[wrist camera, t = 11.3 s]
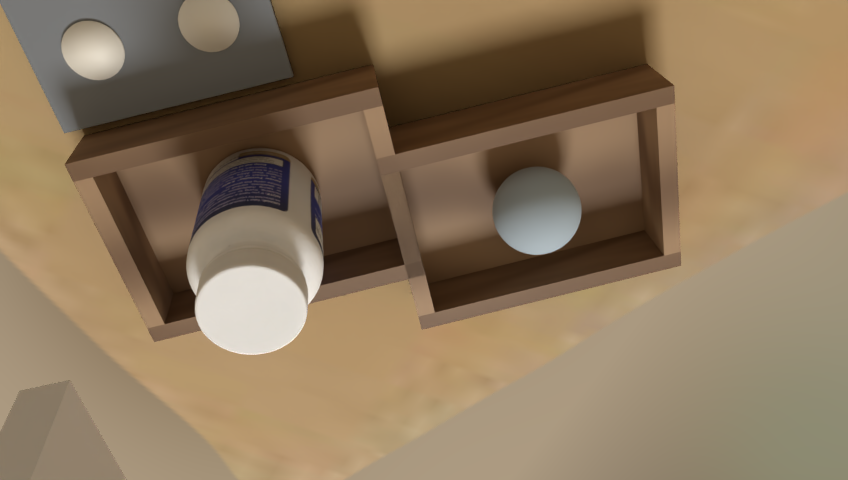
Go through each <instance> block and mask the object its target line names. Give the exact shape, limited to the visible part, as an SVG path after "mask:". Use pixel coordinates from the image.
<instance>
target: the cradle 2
mask: <svg viewBox="0 0 848 480" xmlns="http://www.w3.org/2000/svg"><path fill="white" fill-rule="evenodd" d="M389 130H390V135H391V139H392V143H393V148H394V152H395V155H394V157H393V155H391V156H387V157H383V158H379V159H377V163H378V167H379V170H380V174H381V178H382V180H383V181H382V182H383V183H387V184H388V181H389V183H391V184H388V185H387V184H383V185H384V189H385V193H386V197H387V198H388V197H390V199H387V200H388V203H389V205H392V206H389V208H390V207H392V208H395V209H393V210H392V208H391V210H390V212H391V215H393V217H392V219H393V223H394V227H396V224H397V223H399V224H400V225H398V224H397V227H396V228H395V230H396V231H399V230H400V228H401V230H402V231H399V232H397V233H396V234H397V235H398V234H401V235H398V236H397V238H398V237H399V239H398V240H399V241H398V242H400V243H401V242H403V241H404V240H405V242H403V243H401V244H400V243H399V245H400V249H402V247H403V250H401V253H403V255H402V257H403V260H404V259H405V260H406V259H407V261H404V264H408V263H409V261H411V263H409V264H412V263H413V264H414V263H416V262H418V263H419V260H420V263H421V262H422V264H421V266H422V265H423V268H421V269H424V273H425V274H424V273H423V274H424V275H423V274H421V275H423V276H421V275H418V276H419V277H417V275H416V274H415V275H414V278H413V276H411V275H410V273H411V272H410V273H409V271H408V270H407V269H406V270H407V271H408V272H407V274H409V275H410V276H411V277H410V278H411V279H409V277H408V279H409V283H410V287H411V290H412V294H413V298H414V302H415V305H416V309H417V313H418V317H419V320H420V324H421V328H422V330H423V329H427V328H431V327H435V326H439V325H443V324H447V323H451V322H455V321H459V320H463V319H467V318H471V317H475V316H479V315H483V314H487V313H491V312H495V311H499V310H503V309H507V308H511V307H515V306H519V305H523V304H528V303H532V302H536V301H540V300H544V299H548V298H552V297H556V296H560V295H564V294H568V293H572V292H576V291H580V290H584V289H588V288H592V287H596V286H600V285H604V284H608V283H612V282H616V281H620V280H624V279H628V278H632V277H637V276H641V275H645V274H649V273H653V272H657V271H661V270H665V269H669V268H673V267H677V266H681V249H680V223H679V198H678V172H677V146H676V120H675V94H674V85H673V84H672V83H670V82H669V81H668V80H667V79H665V78H664V77H663V76H662V75H660V74H659V73H658V72H657V71H655V70H654V69H653V68H651V67H650V66H649V65H648V64H645V65H641V66H637V67H633V68H629V69H625V70H621V71H617V72H613V73H609V74H605V75H601V76H597V77H592V78H588V79H584V80H580V81H576V82H572V83H568V84H564V85H560V86H556V87H552V88H548V89H544V90H540V91H536V92H532V93H528V94H524V95H520V96H516V97H511V98H507V99H503V100H499V101H495V102H491V103H487V104H483V105H479V106H475V107H471V108H467V109H463V110H459V111H455V112H451V113H447V114H443V115H439V116H435V117H430V118H426V119H422V120H418V121H414V122H410V123H406V124H402V125H398V126H394V127H390V128H389ZM385 160H386V161H385ZM381 161H382V162H381ZM383 161H384V162H383ZM390 161H391V162H390ZM391 163H392V164H393V165H392V164H391ZM383 164H384V165H383ZM396 164H397V165H396ZM528 167H546V168H550V169H553V170H556V171H558V172H560V173H561V174H562V175H564V176H565V177H567V178H568V179H569V180H570V181H571V183H572V184H573V185H574V187H575V188H576V190H577V192H578V195H579V197H580V201H581V210H582V211H581V220H580V224H579V226H578V229H577V231H576V233H575V234H574V236H573V237H572V238H571V239H570V241H569V242H568V243H566V244H565V245H564V246H563V247H561V248H560V249H558V250H556V251H554V252H551V253H547V254H542V255H532V254H526V253H523V252H520V251H518V250H516V249H514V248H512V247H511V246H509V245H508V244H507V243H506V242H505V241H504V240H503V239H502V238H501V236H500V235H499V233H498V231H497V229H496V227H495V224H494V220H493V214H492V209H493V201H494V198H495V195H496V192H497V190H498V189H499V187H500V186H501V184H502V183H503V182H504V181H505V180H506V179H507V178H508V177H509V176H510V175H512V174H513V173H515V172H517V171H519V170H521V169H524V168H528ZM386 168H387V169H386ZM393 168H394V169H393ZM388 169H389V170H388ZM391 169H392V170H391ZM387 172H388V173H387ZM395 172H396V173H395ZM397 172H398V173H397ZM385 173H386V174H385ZM389 174H391V176H390V175H389ZM384 175H386V176H387V180H386V176H384ZM393 175H397V176H393ZM382 176H384V177H382ZM389 176H390V177H389ZM399 177H400V178H399ZM389 178H390V179H389ZM397 178H398V180H397ZM384 179H385V180H386V181H385V180H384ZM390 180H391V181H390ZM393 180H394V182H393ZM395 180H396V181H395ZM397 182H402V183H400V184H398V183H397ZM395 183H396V184H395ZM389 185H390V187H389ZM392 185H393V186H392ZM394 185H395V186H396V185H398V187H397V186H396V188H394V189H393V187H394ZM402 185H403V186H402ZM385 186H386V188H385ZM387 186H388V187H387ZM391 186H392V187H391ZM400 186H401V187H400ZM388 188H389V189H388ZM390 189H391V191H388V192H386V191H387V190H390ZM392 189H393V190H392ZM401 189H404V190H401ZM397 190H399V191H400V190H401V191H400V192H399V191H398V192H395V191H397ZM391 193H393V194H395V193H396V194H395V195H392V194H391ZM400 193H401V194H400ZM402 193H404V195H402ZM387 194H391V195H387ZM399 194H400V195H401V196H402V197H404V198H401V196H400V195H399ZM393 196H394V197H393ZM398 196H399V198H398ZM392 197H393V198H392ZM396 197H397V198H398V199H397V198H396ZM395 198H396V199H397V200H398V201H397V200H394V199H395ZM392 199H393V200H392ZM404 199H405V200H407V201H404ZM391 201H393V202H394V203H393V202H392V203H390V202H391ZM400 201H401V202H402V201H403V202H402V203H400ZM398 203H400V206H401V207H400V206H399V205H398ZM394 204H397V206H396V205H395V206H396V207H393V206H394ZM403 204H408V206H406V205H403ZM404 206H405V207H406V208H407V207H408V208H407V209H406V208H405V207H404ZM397 207H399V208H397ZM402 207H403V208H405V209H402ZM396 208H397V209H396ZM400 209H401V210H402V211H401V210H400ZM397 210H400V211H399V212H398V211H397ZM403 210H404V211H403ZM408 210H409V212H408V213H407V214H404V213H405V212H406V211H408ZM393 212H395V213H396V214H394V213H393ZM403 212H404V213H403ZM392 213H393V214H392ZM402 213H403V214H402ZM397 215H398V216H397ZM399 215H400V216H401V217H400V216H399ZM402 215H404V216H402ZM408 215H410V216H408ZM395 216H397V217H400V218H397V217H395ZM404 217H405V218H404ZM408 217H409V218H410V220H407V219H409V218H408ZM394 218H397V219H398V220H396V219H395V220H394ZM401 218H403V219H401ZM406 218H407V219H406ZM399 219H401V220H399ZM402 220H405V221H404V222H402ZM407 221H408V222H407ZM410 222H411V223H412V224H411V225H410ZM406 223H409V224H407V225H406ZM401 225H402V226H407V227H403V229H404V231H403V229H402V227H401ZM399 226H400V227H399ZM410 226H411V227H410ZM412 226H413V227H412ZM398 227H399V228H398ZM407 228H408V230H407ZM409 228H410V229H411V230H412V229H413V228H414V230H413V231H410V229H409ZM405 230H407V231H408V232H407V233H406V234H403V233H405V232H406V231H405ZM401 232H402V233H401ZM409 233H410V234H412V233H415V235H414V234H413V235H410V234H409ZM402 234H403V236H402ZM409 236H410V237H411V238H412V240H411V239H410V238H408V239H407V237H409ZM413 237H416V238H413ZM400 238H401V239H400ZM402 240H403V241H402ZM406 240H407V241H406ZM409 240H410V242H412V241H414V240H415V241H416V242H415V241H414V242H413V243H411V244H410V242H409ZM407 242H409V243H407ZM408 244H409V246H408ZM415 244H417V246H419V247H417V246H416V245H415ZM401 245H405V247H404V246H401ZM406 245H407V246H406ZM413 245H415V246H413ZM414 247H415V249H414ZM408 248H410V249H412V248H413V250H414V252H413V250H411V252H412V253H411V252H410V249H408ZM417 248H419V249H417ZM405 250H406V251H407V252H408V251H409V253H407V252H406V253H405V255H404V251H405ZM419 250H420V252H419V253H418V254H413V253H415V251H416V252H418V251H419ZM410 253H411V254H410ZM420 254H421V257H420V256H418V257H417V255H420ZM404 256H407V257H404ZM408 256H409V260H408ZM410 256H411V257H410ZM412 256H413V257H412ZM413 258H414V259H415V262H414V259H413ZM418 258H419V259H418ZM420 258H422V260H421V259H420ZM411 259H412V260H411ZM416 259H418V260H416ZM412 261H413V262H412ZM406 262H407V263H406ZM413 264H412V266H413ZM416 265H417V263H416ZM416 265H415V266H413V268H414V267H416ZM409 266H410V267H411V265H409ZM421 266H419V264H418V268H420V267H421ZM407 268H408V265H407ZM418 268H417V267H416V268H414V269H418ZM414 269H413V271H414V272H416V270H414ZM421 269H420V270H421ZM409 270H410V269H409ZM420 270H419V271H420ZM422 272H423V270H422ZM422 272H421V271H420V272H419V273H422ZM411 274H412V275H413V272H412V273H411ZM417 274H418V272H417ZM415 276H416V277H415Z"/></svg>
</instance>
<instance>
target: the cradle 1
mask: <svg viewBox="0 0 848 480" xmlns="http://www.w3.org/2000/svg"><path fill="white" fill-rule="evenodd" d="M252 148H269V149H274V150H278V151H282V152H284V153H287V154H289V155H291V156H293V157H294V158H296V159H298V160H299V161H300V162H301V163H303V164H304V165H305V166H306V167H307V169H308V170H309V171H310V172H311V174H312V175H313V177H314V178H315V180H316V182H317V184H318V187H319V190H320V195H321V205H322V233H323V258H324V268H323V277H322V281H321V284H320V287H319V290H318V291H317V293H316V295H315V297H314V298H313V299H312V301H311V302H310V303H314V302H318V301H322V300H326V299H330V298H334V297H338V296H342V295H346V294H350V293H354V292H358V291H362V290H366V289H370V288H374V287H378V286H383V285H387V284H391V283H395V282H399V281H403V280H407V279H408V277H409V279H411V278H410V277H411V276H413V278H414V275H415V274H416V275H417V277H419V276H418V275H421V274H423V273H424V269H421V268H423V265H422V266H421V264H422V262H421V263H420V260H419V263H418V262H416V263H417V265H416V263H414V264H413V263H412V264H413V266H415V265H416V267H417V268H418V264H419V266H421V267H420V268H418V269H414V268H416V267H414V268H413V266H412V264H409V263H411V261H409V263H408V264H404V261H407V259H406V260H405V259H404V260H403V257H402V255H403V253H401V250H403V247H402V249H400V245H399V243H400V242H398V241H399V240H398V239H399V237H398V238H397V236H398V235H401V234H398V235H397V234H396V233H397V232H399V231H402V230H401V228H400V230H399V231H396V230H395V228H396V227H397V224H398V225H400V224H399V223H397V224H396V227H394V223H393V219H392V217H393V215H391V212H390V210H391V208H392V207H390V208H389V206H392V205H389V203H388V200H387V199H390V197H388V198H387V197H386V193H385V189H384V185H383V184H387V183H383V182H382V181H383V180H382V178H381V174H380V170H379V167H378V163H377V159H379V158H383V157H387V156H391V155H393V157H394V155H395V152H394V148H393V143H392V139H391V135H390V130H389V126H388V122H387V118H386V114H385V110H384V106H383V102H382V98H381V94H380V90H379V86H378V82H377V78H376V74H375V70H374V66H373V65H369V66H365V67H361V68H356V69H352V70H348V71H344V72H340V73H336V74H332V75H328V76H324V77H320V78H316V79H312V80H308V81H304V82H300V83H296V84H292V85H288V86H284V87H279V88H275V89H271V90H267V91H263V92H259V93H255V94H251V95H247V96H243V97H239V98H235V99H231V100H227V101H223V102H219V103H215V104H211V105H206V106H202V107H198V108H194V109H190V110H186V111H182V112H178V113H174V114H170V115H166V116H162V117H158V118H154V119H150V120H146V121H142V122H138V123H134V124H129V125H125V126H121V127H117V128H113V129H109V130H105V131H101V132H97V133H93V134H89V135H85V136H84V137H83V138H82V140H81V141H80V142H79V144H78V145H77V147H76V148H75V150H74V151H73V153H72V154H71V156H70V157H69V159H68V160H67V162H66V163H65V166H66V168H67V170H68V172H69V174H70V176H71V178H72V180H73V182H74V184H75V186H76V188H77V190H78V192H79V194H80V196H81V198H82V200H83V202H84V204H85V206H86V208H87V210H88V212H89V214H90V216H91V218H92V220H93V222H94V224H95V226H96V228H97V230H98V232H99V234H100V236H101V238H102V239H103V241H104V243H105V245H106V247H107V249H108V251H109V253H110V255H111V257H112V259H113V261H114V263H115V265H116V267H117V269H118V271H119V273H120V275H121V277H122V279H123V281H124V283H125V285H126V287H127V289H128V291H129V293H130V295H131V297H132V299H133V301H134V303H135V305H136V307H137V309H138V311H139V313H140V315H141V317H142V319H143V321H144V323H145V325H146V327H147V329H148V331H149V333H150V334H151V336H152V338H153V340H154V342H156V341H160V340H164V339H168V338H172V337H176V336H181V335H185V334H189V333H193V332H197V331H201V329H200V327H199V325H198V322H197V320H196V316H195V299H196V295H195V293H194V292H193V290H192V288H191V286H190V283H189V280H188V277H187V271H186V260H187V253H188V248H189V244H190V240H191V236H192V232H193V229H194V225H195V221H196V217H197V213H198V209H199V205H200V201H201V197H202V193H203V190H204V187H205V184H206V181H207V179H208V177H209V175H210V173H211V172H212V170H213V169H214V168H215V167H216V166H217V165H218V164H219V163H220V162H221V161H222V160H224V159H225V158H227V157H228V156H230V155H232V154H234V153H236V152H239V151H242V150H246V149H252ZM385 161H386V160H385ZM381 162H382V161H381ZM383 162H384V161H383ZM390 162H391V161H390ZM391 164H392V163H391ZM383 165H384V164H383ZM392 165H393V164H392ZM396 165H397V164H396ZM386 169H387V168H386ZM393 169H394V168H393ZM388 170H389V169H388ZM391 170H392V169H391ZM387 173H388V172H387ZM395 173H396V172H395ZM397 173H398V172H397ZM385 174H386V173H385ZM389 175H390V176H391V174H389ZM384 176H386V175H384ZM384 176H382V177H384ZM390 176H389V177H390ZM393 176H397V175H393ZM399 178H400V177H399ZM389 179H390V178H389ZM384 180H385V179H384ZM386 180H387V176H386ZM386 180H385V181H386ZM397 180H398V178H397ZM390 181H391V180H390ZM395 181H396V180H395ZM393 182H394V180H393ZM397 183H398V184H400V183H402V182H397ZM388 184H391V183H389V181H388ZM388 184H387V185H388ZM395 184H396V183H395ZM392 186H393V185H392ZM392 186H391V187H392ZM396 186H397V187H398V185H396ZM396 186H395V185H394V187H393V189H394V188H396ZM402 186H403V185H402ZM387 187H388V186H387ZM389 187H390V185H389ZM400 187H401V186H400ZM385 188H386V186H385ZM388 189H389V188H388ZM393 189H392V190H393ZM401 190H404V189H401ZM401 190H400V191H401ZM388 191H391V189H390V190H387V191H386V192H388ZM398 191H399V190H397V191H395V192H398ZM400 191H399V192H400ZM391 194H392V195H395V194H396V193H395V194H393V193H391ZM391 194H387V195H391ZM400 194H401V193H400ZM400 194H399V195H400ZM402 195H404V193H402ZM400 196H401V195H400ZM393 197H394V196H393ZM393 197H392V198H393ZM396 198H397V197H396ZM396 198H395V199H394V200H397V199H398V198H399V196H398V198H397V199H396ZM401 198H404V197H402V196H401ZM392 200H393V199H392ZM397 201H398V200H397ZM404 201H407V200H405V199H404ZM392 202H393V201H391V202H390V203H392ZM402 202H403V201H402ZM402 202H401V201H400V203H402ZM393 203H394V202H393ZM400 203H398V205H399V206H400ZM395 205H396V206H397V204H394V206H393V207H396V206H395ZM403 205H406V206H408V204H403ZM400 207H401V206H400ZM404 207H405V206H404ZM397 208H399V207H397ZM397 208H396V209H397ZM405 208H406V207H405ZM405 208H403V207H402V209H405ZM407 208H408V207H407ZM407 208H406V209H407ZM393 209H395V208H392V210H393ZM400 210H401V209H400ZM400 210H397V211H398V212H399V211H400ZM401 211H402V210H401ZM403 211H404V210H403ZM408 212H409V210H408V211H406V212H405V213H404V212H403V213H404V214H407V213H408ZM393 213H394V214H396V213H395V212H393ZM393 213H392V214H393ZM403 213H402V214H403ZM397 216H398V215H397ZM397 216H395V217H397ZM399 216H400V215H399ZM402 216H404V215H402ZM408 216H410V215H408ZM400 217H401V216H400ZM400 217H397V218H400ZM397 218H394V220H395V219H396V220H398V219H397ZM404 218H405V217H404ZM408 218H409V217H408ZM401 219H403V218H401ZM401 219H399V220H401ZM406 219H407V218H406ZM407 220H410V218H409V219H407ZM404 221H405V220H402V222H404ZM407 222H408V221H407ZM407 224H409V223H406V225H407ZM411 224H412V223H411V222H410V225H411ZM399 227H400V226H399ZM399 227H398V228H399ZM401 227H402V229H403V227H407V226H402V225H401ZM410 227H411V226H410ZM412 227H413V226H412ZM409 229H410V228H409ZM407 230H408V228H407ZM407 230H405V231H406V232H405V233H403V234H406V233H407V232H408V231H407ZM413 230H414V228H413V229H412V230H411V229H410V231H413ZM403 231H404V229H403ZM401 233H402V232H401ZM403 234H402V236H403ZM409 234H410V233H409ZM413 234H414V235H415V233H412V234H410V235H413ZM408 238H410V239H411V240H412V238H411V237H410V236H409V237H407V239H408ZM413 238H416V237H413ZM400 239H401V238H400ZM402 241H403V240H402ZM406 241H407V240H406ZM414 241H415V240H414ZM414 241H412V242H410V240H409V242H410V244H411V243H413V242H414ZM403 242H405V240H404V241H403ZM403 242H401V243H403ZM409 242H407V243H409ZM415 242H416V241H415ZM401 243H400V244H401ZM415 245H416V246H417V244H415ZM415 245H413V246H415ZM401 246H404V247H405V245H401ZM406 246H407V245H406ZM408 246H409V244H408ZM417 247H419V246H417ZM408 249H410V248H408ZM414 249H415V247H414ZM417 249H419V248H417ZM411 250H413V248H412V249H410V252H411ZM406 252H407V251H406V250H405V251H404V255H405V253H406ZM413 252H414V250H413ZM419 252H420V250H419V251H418V252H416V251H415V253H413V254H418V253H419ZM407 253H409V251H408V252H407ZM411 253H412V252H411ZM411 253H410V254H411ZM418 256H420V257H421V254H420V255H417V257H418ZM404 257H407V256H404ZM410 257H411V256H410ZM412 257H413V256H412ZM413 259H414V258H413ZM418 259H419V258H418ZM418 259H416V260H418ZM420 259H421V260H422V258H420ZM408 260H409V256H408ZM411 260H412V259H411ZM412 262H413V261H412ZM414 262H415V259H414ZM406 263H407V262H406ZM407 265H408V268H407ZM409 265H411V267H410V266H409ZM406 269H407V270H408V271H409V273H410V272H411V273H412V272H413V275H412V274H411V273H410V275H411V276H410V275H409V274H407V272H408V271H407V270H406ZM409 269H410V270H409ZM413 269H414V270H416V272H414V271H413ZM420 269H421V270H420ZM419 270H420V271H421V272H422V270H423V272H422V273H419V272H420V271H419ZM417 272H418V274H417ZM424 274H425V273H424ZM424 274H423V275H424ZM423 275H421V276H423ZM415 277H416V276H415ZM310 303H309V304H310Z"/></svg>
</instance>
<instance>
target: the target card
mask: <svg viewBox="0 0 848 480" xmlns="http://www.w3.org/2000/svg"><path fill="white" fill-rule="evenodd" d="M0 4H1V6H2V8H3V10H4V12H5V14H6V16H7V18H8V20H9V22H10V24H11V26H12V28H13V30H14V32H15V34H16V36H17V38H18V40H19V42H20V44H21V46H22V48H23V50H24V52H25V54H26V56H27V58H28V60H29V63H30V65H31V67H32V69H33V71H34V73H35V75H36V77H37V79H38V81H39V83H40V85H41V87H42V89H43V91H44V93H45V95H46V97H47V99H48V101H49V103H50V105H51V107H52V109H53V111H54V113H55V115H56V117H57V119H58V121H59V123H60V125H61V127H62V129H63V131H64V133H67V132H72V131H76V130H80V129H84V128H88V127H92V126H96V125H100V124H104V123H108V122H112V121H116V120H120V119H124V118H128V117H132V116H136V115H140V114H144V113H149V112H153V111H157V110H161V109H165V108H169V107H173V106H177V105H181V104H185V103H189V102H193V101H197V100H201V99H205V98H209V97H213V96H217V95H222V94H226V93H230V92H234V91H238V90H242V89H246V88H250V87H254V86H258V85H262V84H266V83H270V82H274V81H278V80H282V79H286V78H290V77H293V76H294V74H293V71H292V68H291V65H290V61H289V58H288V55H287V52H286V48H285V45H284V42H283V39H282V36H281V32H280V29H279V26H278V23H277V19H276V16H275V13H274V10H273V6H272V3H271V0H0Z"/></svg>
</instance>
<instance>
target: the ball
mask: <svg viewBox="0 0 848 480" xmlns="http://www.w3.org/2000/svg"><path fill="white" fill-rule="evenodd" d="M581 211H582V210H581V201H580V197H579V195H578V192H577V190H576V188H575V187H574V185H573V184H572V183H571V181H570V180H569V179H568V178H567V177H565V176H564V175H562V174H561V173H560V172H558V171H556V170H553V169H550V168H546V167H528V168H524V169H521V170H519V171H517V172H515V173H513V174H512V175H510V176H509V177H508V178H507V179H506V180H505V181H504V182H503V183H502V184H501V186H500V187H499V189H498V190H497V192H496V195H495V198H494V201H493V209H492V214H493V220H494V224H495V227H496V229H497V231H498V233H499V235H500V236H501V238H502V239H503V240H504V241H505V242H506V243H507V244H508V245H509V246H511V247H512V248H514V249H516V250H518V251H520V252H523V253H526V254H532V255H542V254H547V253H551V252H554V251H556V250H558V249H560V248H561V247H563V246H564V245H565V244H566V243H568V242H569V241H570V239H571V238H572V237H573V236H574V234H575V233H576V231H577V229H578V226H579V224H580V220H581Z"/></svg>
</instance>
